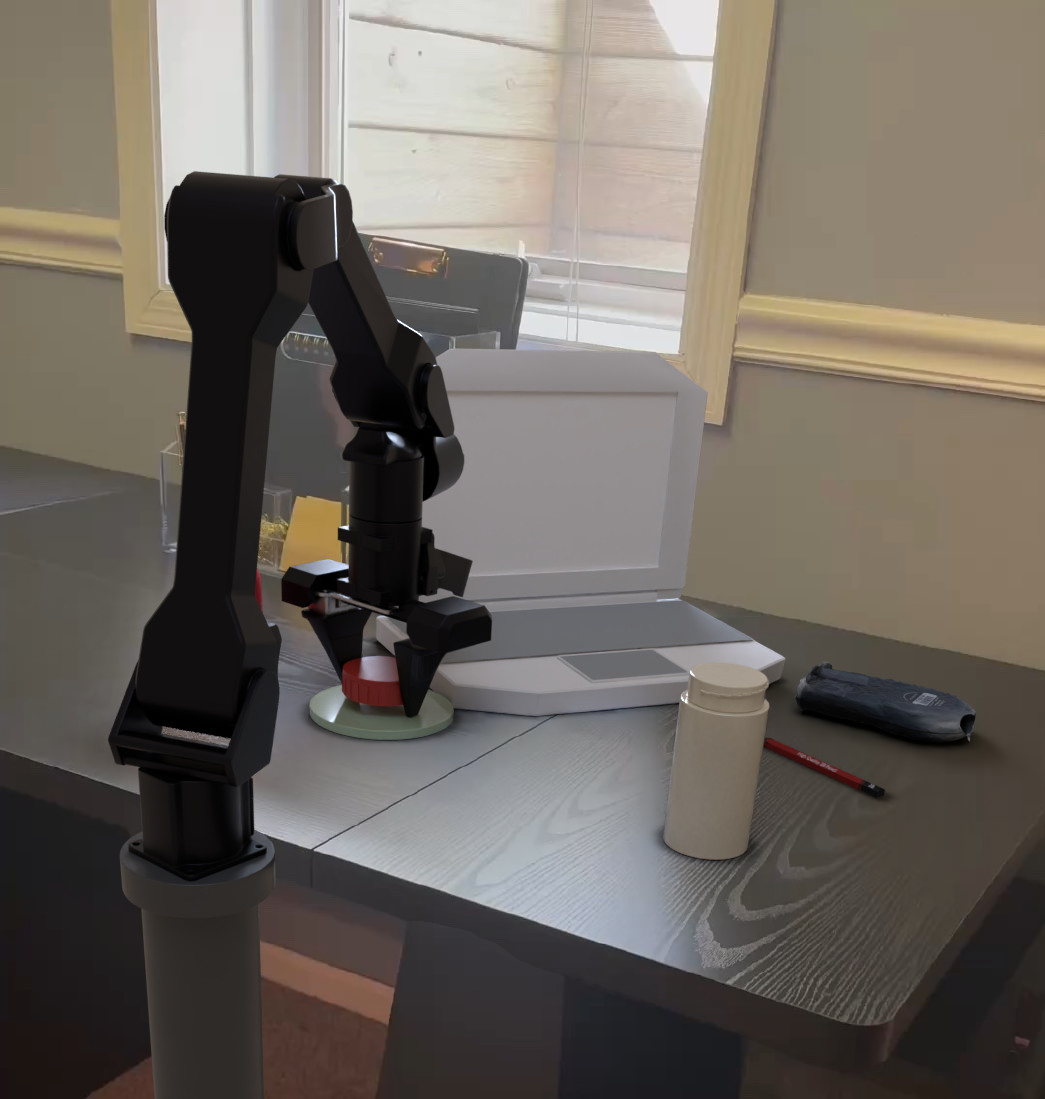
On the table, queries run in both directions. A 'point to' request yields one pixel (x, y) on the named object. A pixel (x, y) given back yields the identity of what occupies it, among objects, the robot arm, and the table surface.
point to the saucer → (379, 716)
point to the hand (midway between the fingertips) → (381, 705)
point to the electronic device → (886, 704)
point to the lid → (372, 681)
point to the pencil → (824, 768)
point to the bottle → (716, 761)
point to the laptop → (575, 533)
